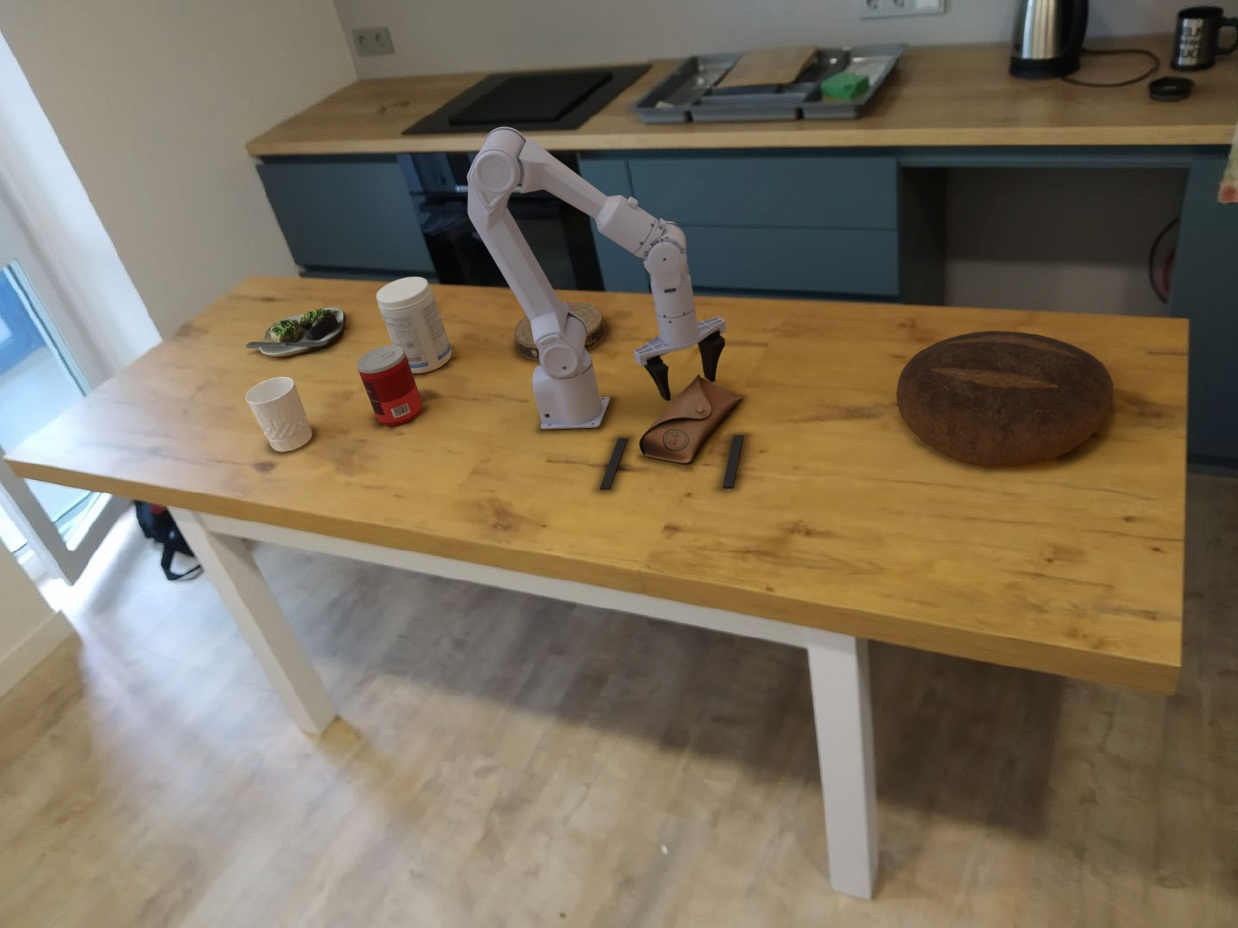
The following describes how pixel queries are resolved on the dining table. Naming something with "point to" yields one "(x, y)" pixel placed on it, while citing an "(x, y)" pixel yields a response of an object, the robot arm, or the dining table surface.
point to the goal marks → (729, 473)
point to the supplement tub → (415, 323)
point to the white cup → (280, 413)
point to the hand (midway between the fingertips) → (688, 388)
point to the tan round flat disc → (583, 310)
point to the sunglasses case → (688, 422)
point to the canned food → (390, 385)
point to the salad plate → (302, 333)
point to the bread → (1004, 397)
